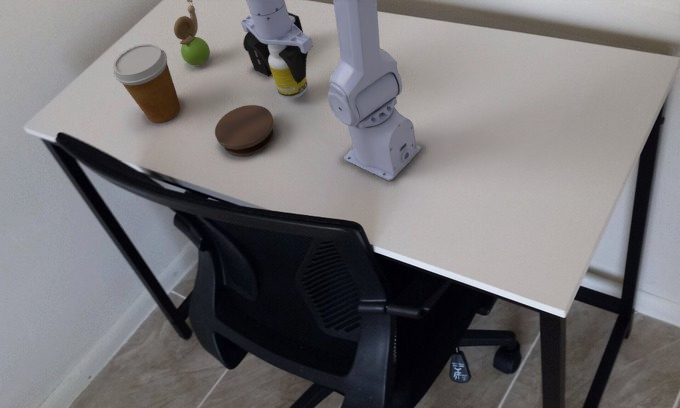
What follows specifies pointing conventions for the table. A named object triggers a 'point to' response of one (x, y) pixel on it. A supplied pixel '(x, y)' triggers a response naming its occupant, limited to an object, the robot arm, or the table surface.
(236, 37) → the table surface
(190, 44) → the snail figurine
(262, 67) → the digital camera
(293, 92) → the supplement bottle
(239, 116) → the stand
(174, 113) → the disposable coffee cup
